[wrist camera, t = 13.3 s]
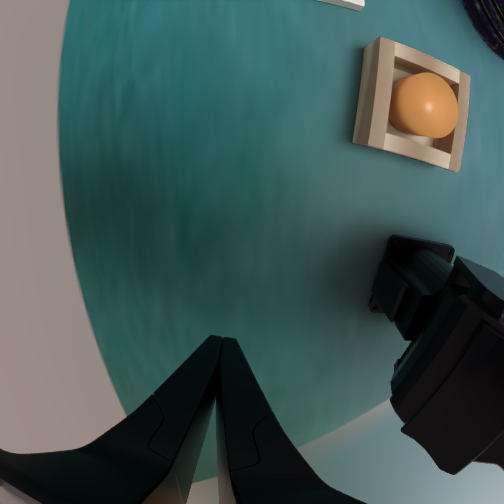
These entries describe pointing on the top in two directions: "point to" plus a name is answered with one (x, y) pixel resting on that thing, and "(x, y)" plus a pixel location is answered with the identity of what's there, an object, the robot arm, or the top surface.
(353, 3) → the picture board
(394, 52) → the button block
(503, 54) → the storage jar
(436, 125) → the button
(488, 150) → the top surface
